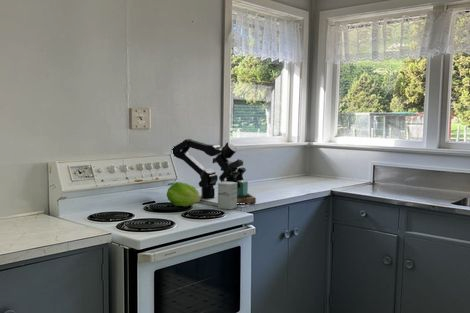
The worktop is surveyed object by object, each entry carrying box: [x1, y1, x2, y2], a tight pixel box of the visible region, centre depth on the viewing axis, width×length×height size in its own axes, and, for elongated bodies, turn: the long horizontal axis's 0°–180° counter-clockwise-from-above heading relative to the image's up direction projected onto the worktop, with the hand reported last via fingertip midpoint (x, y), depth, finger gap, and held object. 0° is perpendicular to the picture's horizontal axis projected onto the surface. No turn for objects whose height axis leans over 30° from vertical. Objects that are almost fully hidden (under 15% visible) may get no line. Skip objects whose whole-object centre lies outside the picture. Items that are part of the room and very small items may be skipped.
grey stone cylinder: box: [217, 180, 238, 210], centre depth 231 cm, size 7×7×13 cm
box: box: [237, 192, 257, 204], centre depth 246 cm, size 13×13×3 cm
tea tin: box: [237, 179, 249, 198], centre depth 245 cm, size 4×4×10 cm
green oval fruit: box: [166, 181, 202, 207], centre depth 232 cm, size 14×20×12 cm
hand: (242, 186), depth 244 cm, fingers closed on tea tin, 4 cm apart
